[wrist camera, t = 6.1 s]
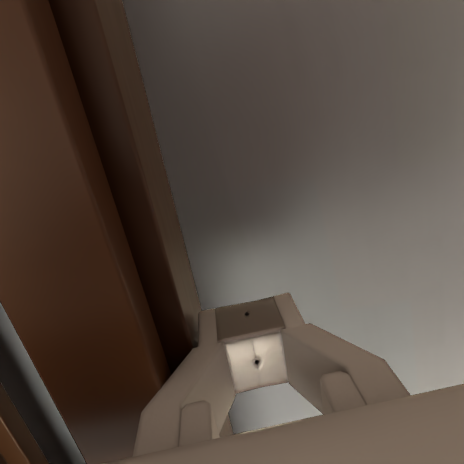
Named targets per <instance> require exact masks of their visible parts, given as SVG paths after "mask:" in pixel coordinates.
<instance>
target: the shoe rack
mask: <svg viewBox="0 0 464 464" xmlns="http://www.w3.org/2000/svg"><path fill="white" fill-rule="evenodd" d="M0 302H1V304H2V306H3V308H4V310H5V311H6V313H7V315H8V317H9V319H10V321H11V323H12V325H13V326H14V328H15V330H16V332H17V334H18V336H19V338H20V340H21V341H22V343H23V345H24V347H25V349H26V351H27V353H28V355H29V356H30V358H31V360H32V362H33V364H34V366H35V368H36V370H37V371H38V373H39V375H40V377H41V379H42V381H43V383H44V385H45V386H46V388H47V390H48V392H49V394H50V396H51V398H52V400H53V401H54V403H55V405H56V407H57V409H58V411H59V413H60V415H61V416H62V418H63V420H64V422H65V424H66V426H67V428H68V430H69V432H70V433H71V435H72V437H73V439H74V441H75V443H76V445H77V447H78V448H79V450H80V452H81V454H82V456H83V458H84V460H85V462H86V463H87V464H103V463H107V462H112V461H116V460H121V459H125V458H130V457H133V452H134V447H135V442H136V436H137V431H138V426H139V421H140V416H141V412H142V411H143V410H144V408H145V407H146V406H147V405H148V403H149V402H150V401H151V400H152V398H153V397H154V396H155V395H156V393H157V392H158V391H159V390H160V389H161V388H162V386H163V385H164V384H165V382H166V381H167V380H168V379H169V377H170V376H171V375H172V374H173V372H174V371H175V370H176V369H177V367H178V366H179V365H180V364H181V363H182V361H183V360H184V359H185V358H186V356H187V355H188V354H189V353H190V351H191V350H192V349H193V348H196V347H198V313H199V311H202V310H201V306H200V302H199V298H198V294H197V290H196V287H195V283H194V279H193V275H192V271H191V267H190V263H189V259H188V255H187V251H186V248H185V244H184V240H183V236H182V232H181V228H180V224H179V220H178V216H177V212H176V209H175V205H174V201H173V197H172V193H171V189H170V185H169V181H168V177H167V173H166V169H165V166H164V162H163V158H162V154H161V150H160V146H159V142H158V138H157V134H156V130H155V127H154V123H153V119H152V115H151V111H150V107H149V103H148V99H147V95H146V91H145V87H144V84H143V80H142V76H141V72H140V68H139V64H138V60H137V56H136V52H135V48H134V45H133V41H132V37H131V33H130V29H129V25H128V21H127V17H126V13H125V9H124V5H123V2H122V0H0ZM229 435H233V431H232V427H231V423H230V419H229V415H227V417H226V419H225V422H224V424H223V426H222V428H221V431H220V433H219V436H220V437H225V436H229ZM0 464H49V462H48V461H47V459H46V457H45V456H44V454H43V452H42V451H41V449H40V447H39V446H38V444H37V442H36V441H35V439H34V437H33V436H32V434H31V432H30V431H29V429H28V427H27V426H26V424H25V422H24V421H23V419H22V417H21V416H20V414H19V412H18V411H17V409H16V407H15V406H14V404H13V402H12V401H11V399H10V397H9V396H8V394H7V392H6V391H5V389H4V387H3V386H2V384H1V382H0Z"/></svg>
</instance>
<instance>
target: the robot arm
mask: <svg viewBox="0 0 464 464" xmlns="http://www.w3.org/2000/svg"><path fill="white" fill-rule="evenodd" d="M286 382H289V384H290V385H291V386H292V387H293V388H294V389H296V390H297V391H298V392H299V393H300V394H301V395H302V396H303V397H305V398H306V399H307V400H308V401H309V402H310V403H311V404H312V405H314V406H315V407H316V408H317V409H318V410H319V411H320V412H321V413H323V415H319V416H315V417H310V418H306V419H301V420H297V421H292V422H288V423H283V424H279V425H274V426H270V427H265V428H261V429H256V430H252V431H247V432H243V433H238V434H234V435H229V436H225V437H220V436H219V433H220V431H221V428H222V426H223V424H224V422H225V419H226V417H227V415H228V412H229V410H230V408H231V406H232V403H233V401H234V399H235V396H236V393H240V392H244V391H248V390H252V389H256V388H260V387H265V386H270V385H276V384H281V383H286ZM103 464H464V384H460V385H456V386H451V387H447V388H443V389H438V390H433V391H429V392H424V393H420V394H415V395H410V393H409V392H408V391H407V389H406V388H405V387H404V385H403V384H402V383H401V381H400V380H399V379H398V377H397V376H396V375H395V373H394V372H393V370H392V369H391V368H390V366H389V365H388V364H387V362H386V361H385V360H384V359H382V358H380V357H378V356H376V355H374V354H372V353H370V352H368V351H365V350H363V349H361V348H359V347H357V346H355V345H353V344H351V343H349V342H347V341H345V340H343V339H341V338H339V337H337V336H335V335H333V334H331V333H329V332H327V331H325V330H323V329H321V328H319V327H317V326H315V325H313V324H311V323H309V324H305V322H304V320H303V318H302V316H301V314H300V312H299V310H298V308H297V307H296V305H295V303H294V301H293V299H292V297H291V295H290V293H284V294H280V295H276V296H273V297H269V298H264V299H260V300H256V301H251V302H245V303H240V304H235V305H229V306H224V307H219V308H215V309H214V308H213V309H209V310H204V311H199V313H198V347H196V348H193V349H192V350H191V351H190V353H189V354H188V355H187V356H186V358H185V359H184V360H183V361H182V363H181V364H180V365H179V366H178V367H177V369H176V370H175V371H174V372H173V374H172V375H171V376H170V377H169V379H168V380H167V381H166V382H165V384H164V385H163V386H162V388H161V389H160V390H159V391H158V392H157V393H156V395H155V396H154V397H153V398H152V400H151V401H150V402H149V403H148V405H147V406H146V407H145V408H144V410H143V411H142V412H141V416H140V421H139V426H138V431H137V436H136V442H135V447H134V452H133V457H130V458H125V459H121V460H116V461H112V462H107V463H103Z"/></svg>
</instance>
